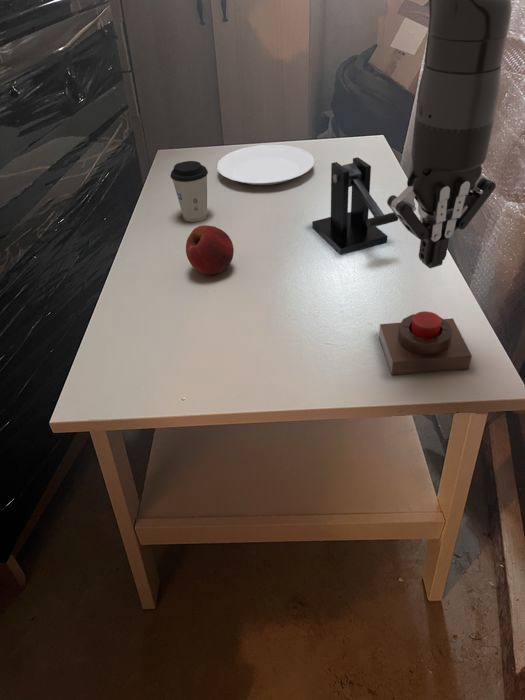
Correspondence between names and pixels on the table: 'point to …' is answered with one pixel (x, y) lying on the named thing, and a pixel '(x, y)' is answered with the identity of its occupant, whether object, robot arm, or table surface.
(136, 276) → the table surface
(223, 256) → the apple
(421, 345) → the control block
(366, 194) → the black lever
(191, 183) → the coffee cup
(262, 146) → the plate
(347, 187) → the lever stand
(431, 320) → the button
